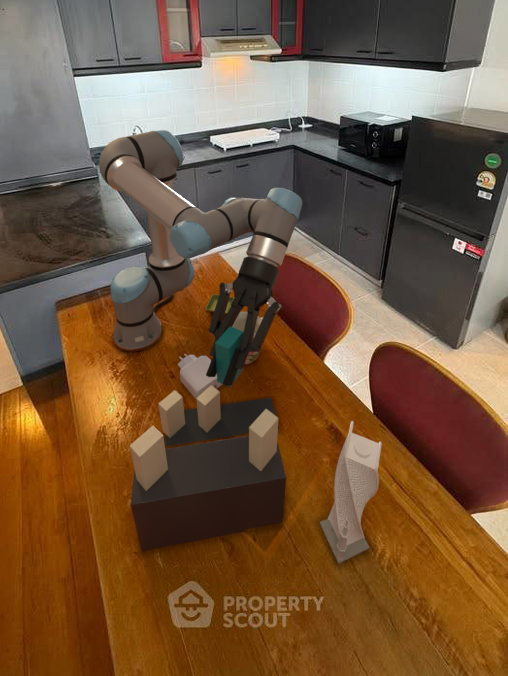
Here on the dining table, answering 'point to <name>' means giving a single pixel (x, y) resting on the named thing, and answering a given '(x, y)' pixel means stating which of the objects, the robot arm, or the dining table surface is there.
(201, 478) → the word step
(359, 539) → the skyscraper
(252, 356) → the pitcher
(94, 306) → the dining table surface
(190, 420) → the dark grey block
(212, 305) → the green square dish
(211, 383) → the charger
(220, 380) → the upright teal pillar
